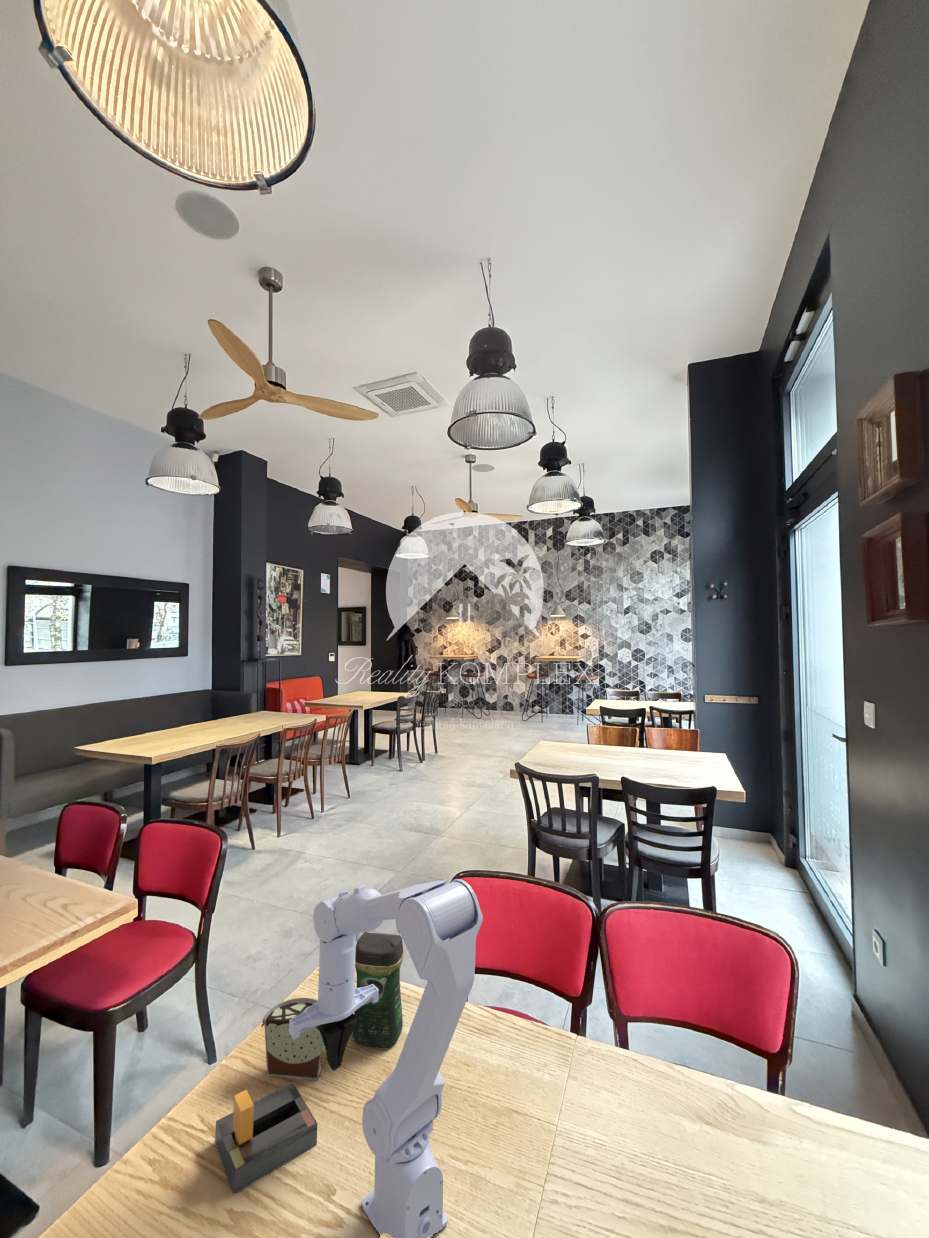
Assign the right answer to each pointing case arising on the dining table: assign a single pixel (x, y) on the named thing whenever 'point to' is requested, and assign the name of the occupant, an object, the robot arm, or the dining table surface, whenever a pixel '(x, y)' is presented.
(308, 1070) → the food container
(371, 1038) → the coffee jar
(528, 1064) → the dining table surface
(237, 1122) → the lever
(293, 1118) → the switch box
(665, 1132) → the dining table surface
